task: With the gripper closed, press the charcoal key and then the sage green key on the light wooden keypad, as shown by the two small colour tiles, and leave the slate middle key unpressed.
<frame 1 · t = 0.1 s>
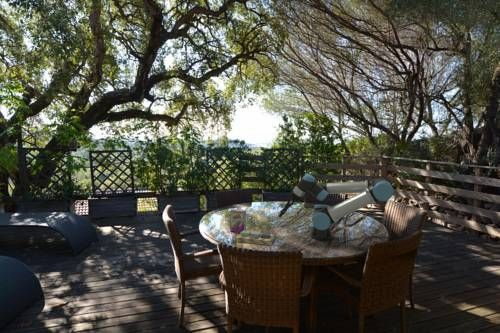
hand: (278, 217, 214), 15 cm above the table, tool tilted 35°, fingers open, 13 cm apart
key sage: (245, 233, 215), point 4 cm above the table, slide at 0.0 cm
key charcoal: (265, 235, 211), point 4 cm above the table, slide at 0.0 cm
keypad: (255, 240, 214), on the table
key slate: (255, 234, 213), point 4 cm above the table, slide at 0.0 cm
candy bar box: (238, 231, 231), on the table
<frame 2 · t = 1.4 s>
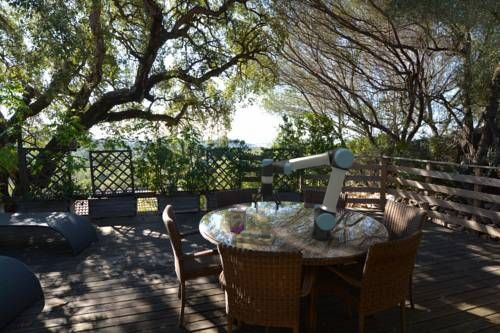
hand: (266, 213, 210), 19 cm above the table, tool pointing down, fingers open, 12 cm apart
nothing on the table moved.
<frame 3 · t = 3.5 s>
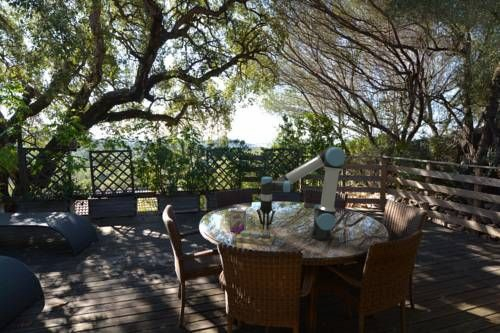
hand: (265, 234, 211), 5 cm above the table, tool pointing down, fingers closed
key charcoal: (265, 236, 211), point 3 cm above the table, slide at 0.6 cm, touching gripper
everything else where it was.
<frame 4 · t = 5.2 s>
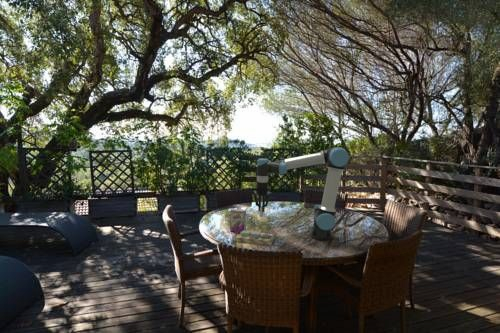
hand: (261, 216, 211), 17 cm above the table, tool pointing down, fingers closed
key charcoal: (265, 238, 211), point 2 cm above the table, slide at 1.6 cm
everything else where it was.
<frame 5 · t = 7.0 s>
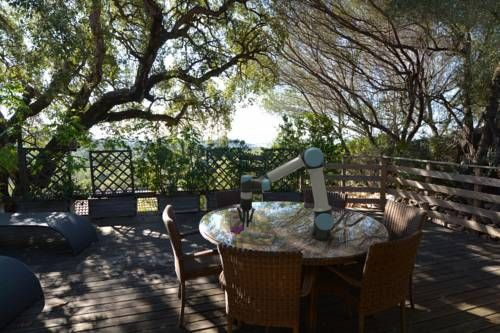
hand: (245, 231, 215), 5 cm above the table, tool pointing down, fingers closed
key sage: (245, 234, 215), point 4 cm above the table, slide at 0.2 cm, touching gripper
everything else where it was.
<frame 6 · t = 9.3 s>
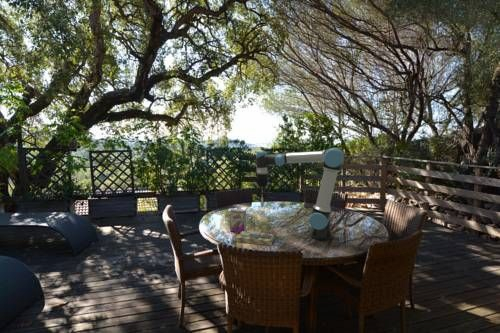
hand: (262, 206, 221), 21 cm above the table, tool pointing down, fingers closed
key sage: (245, 236, 215), point 2 cm above the table, slide at 1.6 cm
everything else where it was.
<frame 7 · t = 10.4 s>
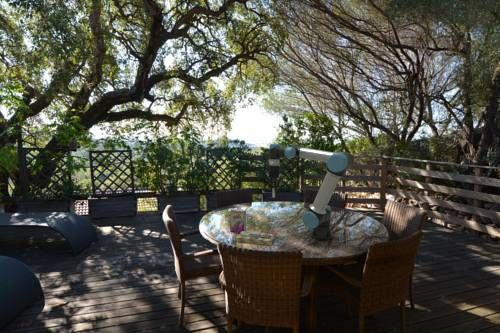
hand: (273, 197, 228), 26 cm above the table, tool pointing down, fingers closed
nothing on the table moved.
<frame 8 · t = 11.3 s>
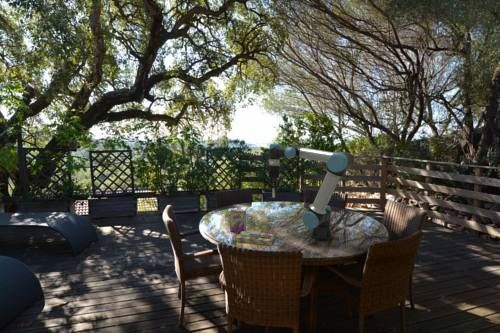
hand: (273, 197, 228), 26 cm above the table, tool pointing down, fingers closed
nothing on the table moved.
at the end: key charcoal slide at 1.6 cm; key sage slide at 1.6 cm; key slate slide at 0.0 cm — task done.
